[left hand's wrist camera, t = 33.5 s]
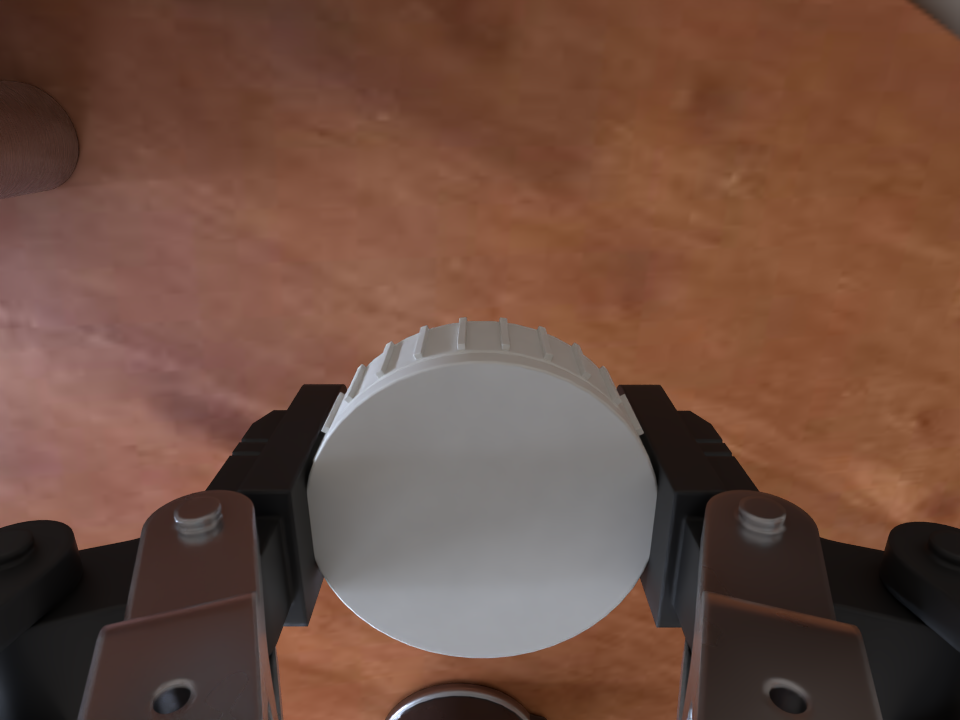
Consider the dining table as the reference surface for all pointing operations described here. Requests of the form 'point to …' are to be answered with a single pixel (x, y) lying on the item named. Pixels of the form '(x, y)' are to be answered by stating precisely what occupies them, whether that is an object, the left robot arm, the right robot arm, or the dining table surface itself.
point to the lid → (481, 491)
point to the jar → (33, 141)
